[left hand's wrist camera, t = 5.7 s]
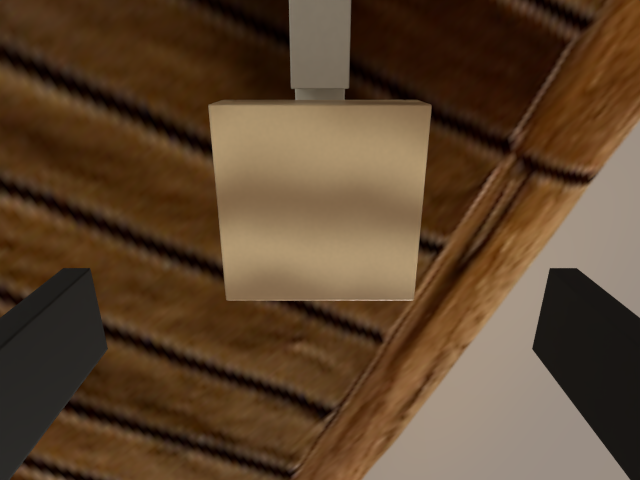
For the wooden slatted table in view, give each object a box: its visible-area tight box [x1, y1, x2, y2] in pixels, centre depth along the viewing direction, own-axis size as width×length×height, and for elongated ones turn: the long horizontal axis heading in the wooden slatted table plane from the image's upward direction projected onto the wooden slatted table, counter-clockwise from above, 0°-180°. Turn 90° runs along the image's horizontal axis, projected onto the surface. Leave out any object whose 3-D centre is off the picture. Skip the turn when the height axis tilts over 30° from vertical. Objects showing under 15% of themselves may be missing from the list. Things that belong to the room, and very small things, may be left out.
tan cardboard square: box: [209, 100, 431, 300], centre depth 23 cm, size 10×10×3 cm
